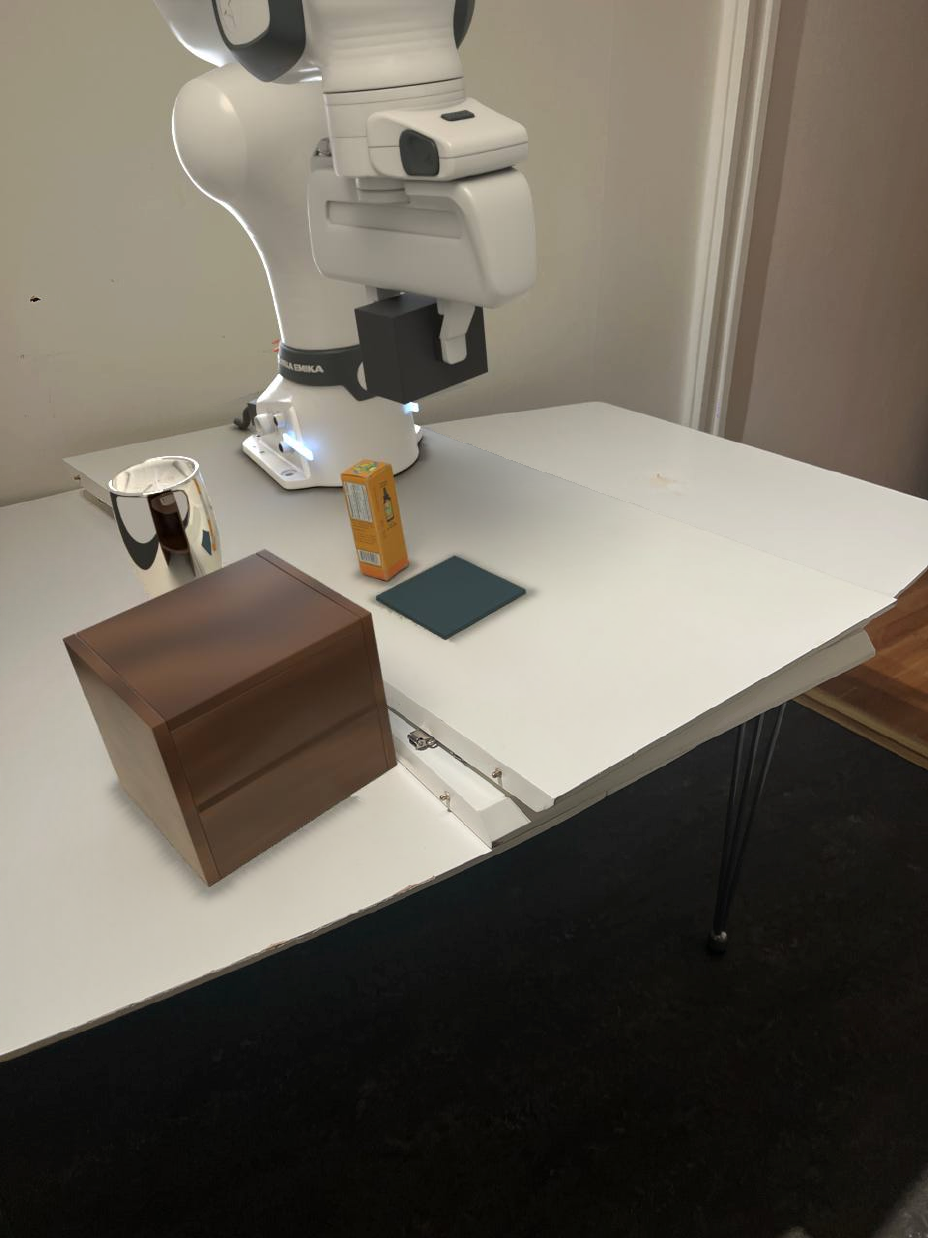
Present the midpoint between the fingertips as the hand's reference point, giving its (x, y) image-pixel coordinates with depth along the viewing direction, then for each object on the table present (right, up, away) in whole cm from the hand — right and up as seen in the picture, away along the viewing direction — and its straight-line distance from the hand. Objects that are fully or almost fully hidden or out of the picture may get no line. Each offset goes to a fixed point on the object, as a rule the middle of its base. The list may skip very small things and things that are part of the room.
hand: (425, 354), depth 65 cm
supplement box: (-4, -15, +16) cm, 22 cm away
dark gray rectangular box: (0, -2, +1) cm, 2 cm away
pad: (+2, -17, +11) cm, 21 cm away
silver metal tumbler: (-18, -21, +9) cm, 29 cm away
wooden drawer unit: (-11, -29, -5) cm, 32 cm away
